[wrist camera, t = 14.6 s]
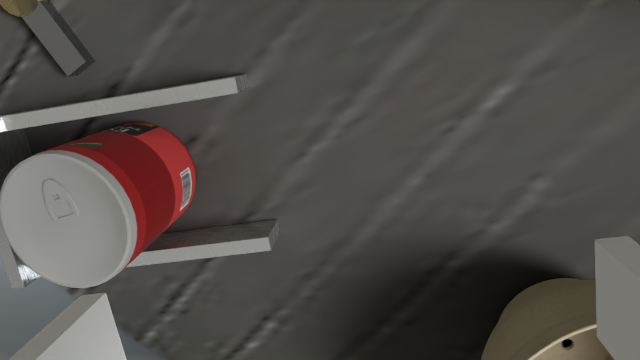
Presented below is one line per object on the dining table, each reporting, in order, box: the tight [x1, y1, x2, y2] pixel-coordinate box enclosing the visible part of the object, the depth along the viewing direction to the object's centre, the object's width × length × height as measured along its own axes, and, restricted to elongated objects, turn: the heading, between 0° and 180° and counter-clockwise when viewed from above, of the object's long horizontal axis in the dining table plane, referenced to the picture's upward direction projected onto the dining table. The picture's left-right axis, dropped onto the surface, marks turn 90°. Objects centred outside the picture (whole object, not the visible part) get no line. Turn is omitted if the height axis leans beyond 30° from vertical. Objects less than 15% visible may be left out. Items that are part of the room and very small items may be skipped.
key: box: [0, 0, 95, 76], centre depth 34 cm, size 8×3×1 cm, turn 35°
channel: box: [0, 74, 280, 288], centre depth 35 cm, size 12×19×5 cm, turn 99°
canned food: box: [0, 122, 196, 288], centre depth 32 cm, size 8×8×11 cm
